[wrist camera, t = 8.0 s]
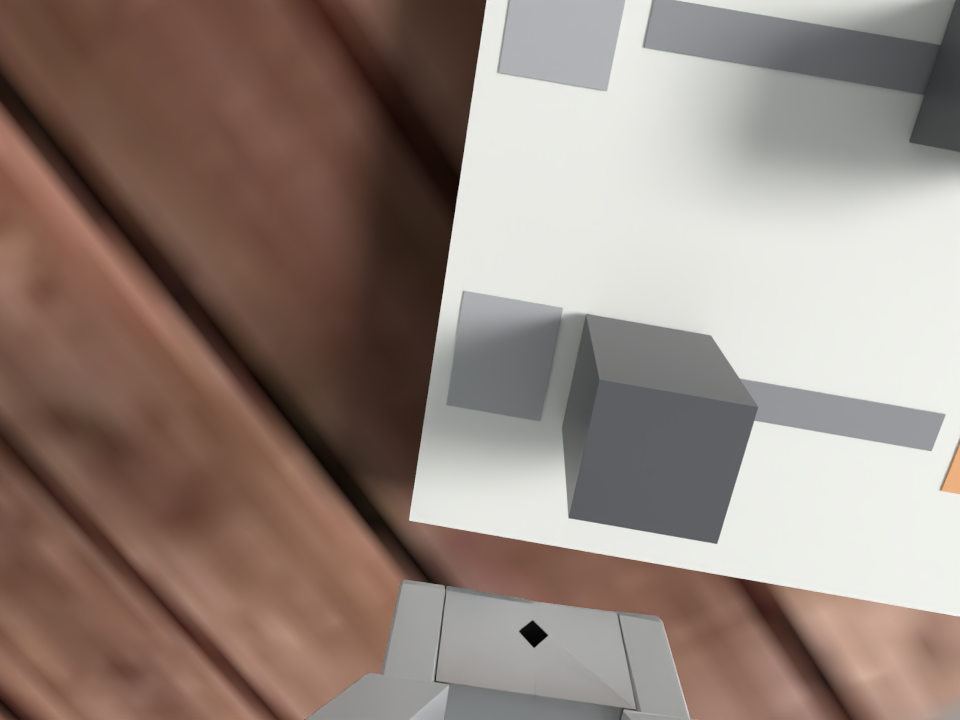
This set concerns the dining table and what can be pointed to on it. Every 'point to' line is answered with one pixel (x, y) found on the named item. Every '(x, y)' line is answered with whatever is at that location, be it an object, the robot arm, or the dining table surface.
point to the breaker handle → (942, 94)
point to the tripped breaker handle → (653, 430)
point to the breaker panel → (713, 277)
